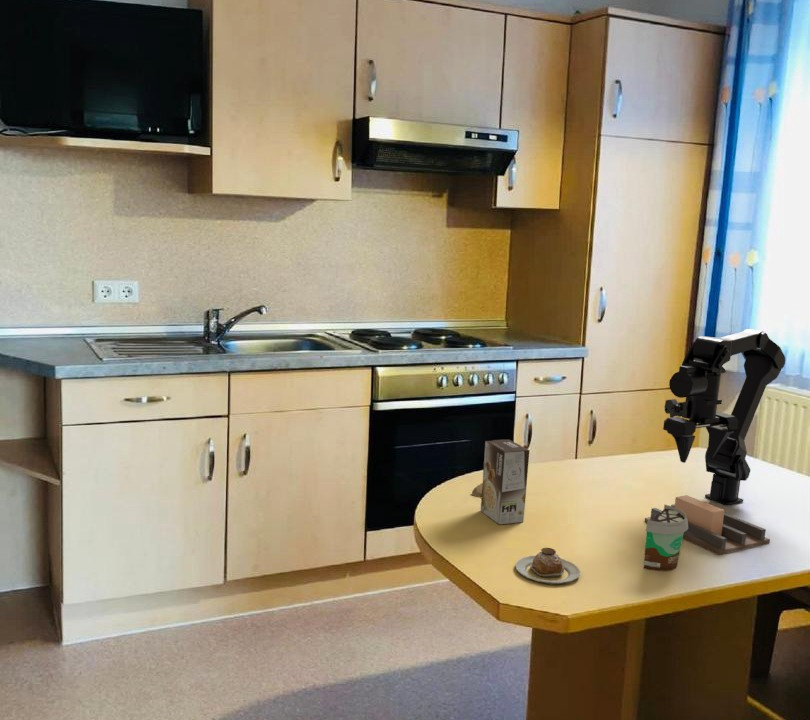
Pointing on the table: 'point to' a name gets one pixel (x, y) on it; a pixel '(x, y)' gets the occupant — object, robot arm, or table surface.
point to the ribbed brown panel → (723, 534)
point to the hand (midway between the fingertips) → (696, 460)
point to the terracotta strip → (701, 513)
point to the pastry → (548, 567)
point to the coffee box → (504, 481)
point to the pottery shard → (478, 491)
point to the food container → (664, 539)
